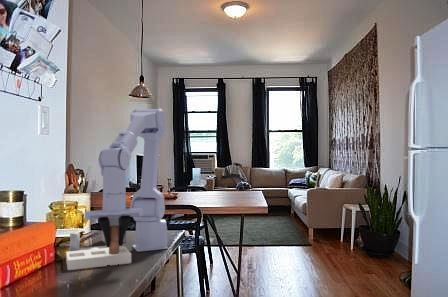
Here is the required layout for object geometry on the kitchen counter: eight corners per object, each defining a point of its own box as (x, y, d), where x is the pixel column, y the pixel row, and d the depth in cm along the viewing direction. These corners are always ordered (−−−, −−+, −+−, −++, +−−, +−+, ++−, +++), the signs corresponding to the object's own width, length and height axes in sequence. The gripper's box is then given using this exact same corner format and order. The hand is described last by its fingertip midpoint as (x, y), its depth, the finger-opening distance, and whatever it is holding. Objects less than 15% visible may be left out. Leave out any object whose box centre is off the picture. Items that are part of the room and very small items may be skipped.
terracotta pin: (118, 251, 102) (118, 224, 102) (120, 253, 99) (120, 226, 99) (108, 252, 100) (108, 225, 101) (109, 254, 98) (109, 227, 98)
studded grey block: (117, 249, 120) (117, 228, 120) (120, 253, 114) (120, 231, 114) (68, 254, 114) (68, 232, 114) (69, 259, 108) (69, 235, 108)
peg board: (124, 254, 113) (124, 246, 113) (131, 263, 104) (131, 253, 104) (66, 260, 106) (66, 251, 107) (67, 270, 97) (67, 260, 97)
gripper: (86, 196, 94) (86, 251, 93) (145, 193, 100) (145, 246, 99) (83, 193, 100) (83, 245, 100) (139, 191, 106) (139, 240, 106)
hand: (114, 245), depth 100 cm, fingers closed on terracotta pin, 3 cm apart
